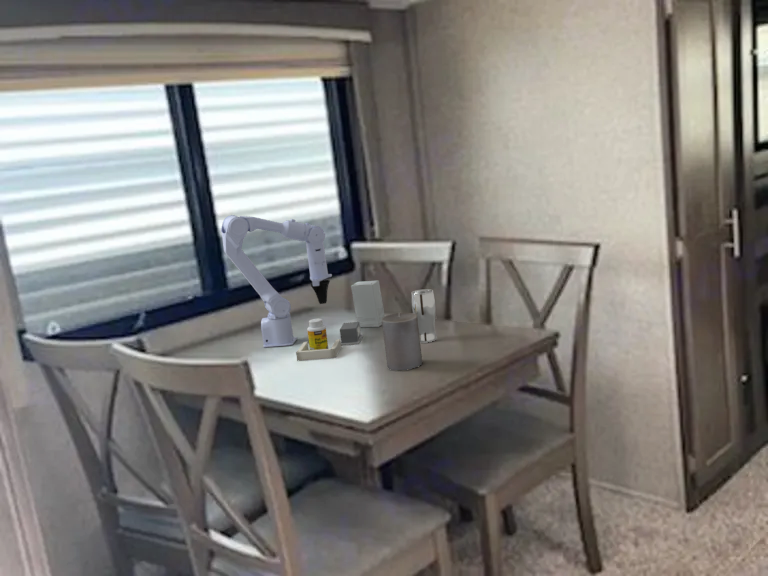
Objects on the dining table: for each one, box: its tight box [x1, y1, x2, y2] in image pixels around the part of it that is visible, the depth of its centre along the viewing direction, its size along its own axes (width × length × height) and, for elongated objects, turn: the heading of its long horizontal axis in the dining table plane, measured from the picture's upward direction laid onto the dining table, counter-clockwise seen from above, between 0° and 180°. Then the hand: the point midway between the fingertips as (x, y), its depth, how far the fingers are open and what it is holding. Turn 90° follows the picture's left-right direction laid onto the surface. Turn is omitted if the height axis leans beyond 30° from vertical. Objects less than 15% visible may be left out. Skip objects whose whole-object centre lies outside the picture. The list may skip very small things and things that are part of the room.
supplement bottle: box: [306, 318, 329, 350], centre depth 231 cm, size 6×6×10 cm
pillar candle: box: [381, 311, 423, 371], centre depth 209 cm, size 10×10×15 cm
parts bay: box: [295, 338, 342, 361], centre depth 231 cm, size 11×11×2 cm
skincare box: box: [350, 280, 386, 328], centre depth 257 cm, size 8×6×15 cm
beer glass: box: [410, 288, 438, 344], centre depth 231 cm, size 7×7×15 cm
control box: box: [339, 321, 364, 347], centre depth 241 cm, size 6×10×5 cm, turn 174°
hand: (323, 303), depth 252 cm, fingers closed
